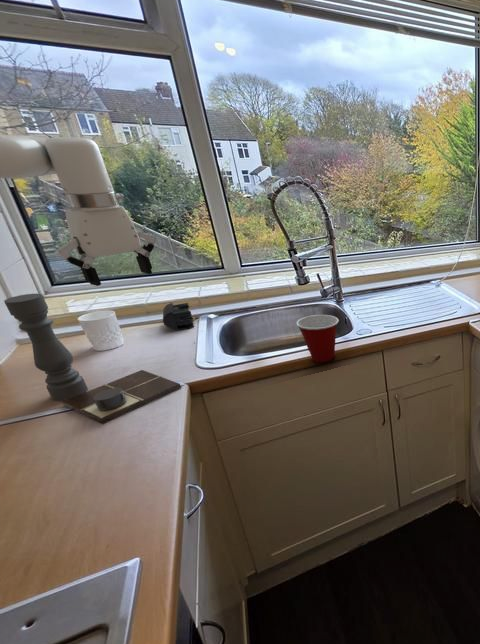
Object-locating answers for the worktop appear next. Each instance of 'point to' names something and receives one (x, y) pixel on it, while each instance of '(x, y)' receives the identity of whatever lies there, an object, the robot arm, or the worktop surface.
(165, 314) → the end cap
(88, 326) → the white cup
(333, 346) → the plastic cup
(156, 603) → the worktop surface
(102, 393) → the slate stone
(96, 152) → the robot arm
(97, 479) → the worktop surface
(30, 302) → the candle holder
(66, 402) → the grid board
